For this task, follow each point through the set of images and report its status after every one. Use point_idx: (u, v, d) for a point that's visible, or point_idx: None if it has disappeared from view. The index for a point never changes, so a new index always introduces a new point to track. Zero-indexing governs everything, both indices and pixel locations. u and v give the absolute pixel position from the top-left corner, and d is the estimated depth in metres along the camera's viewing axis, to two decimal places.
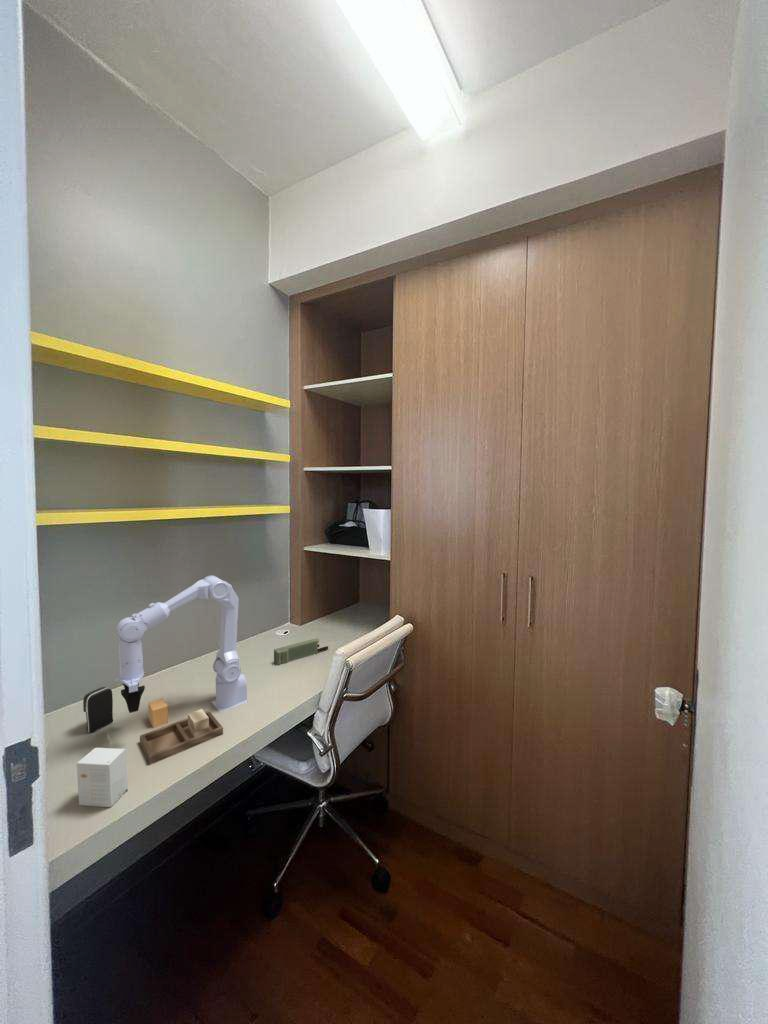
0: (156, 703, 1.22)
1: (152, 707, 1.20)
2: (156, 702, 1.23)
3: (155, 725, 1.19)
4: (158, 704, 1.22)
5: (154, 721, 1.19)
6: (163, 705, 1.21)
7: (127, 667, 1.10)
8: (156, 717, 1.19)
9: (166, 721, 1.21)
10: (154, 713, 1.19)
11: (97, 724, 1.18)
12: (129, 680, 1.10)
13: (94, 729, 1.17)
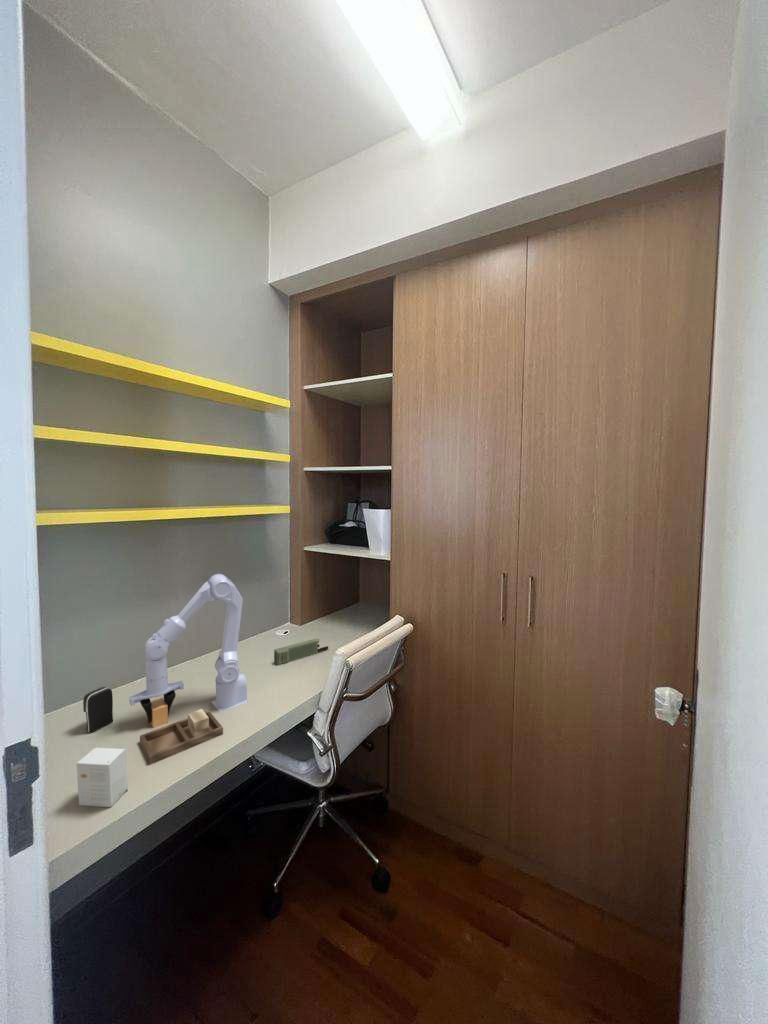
0: (156, 703, 1.22)
1: (152, 707, 1.20)
2: (156, 702, 1.23)
3: (155, 725, 1.19)
4: (158, 704, 1.22)
5: (154, 721, 1.19)
6: (163, 705, 1.21)
7: None
8: (156, 717, 1.19)
9: (166, 721, 1.21)
10: (154, 713, 1.19)
11: (97, 724, 1.18)
12: (145, 693, 1.20)
13: (94, 729, 1.17)
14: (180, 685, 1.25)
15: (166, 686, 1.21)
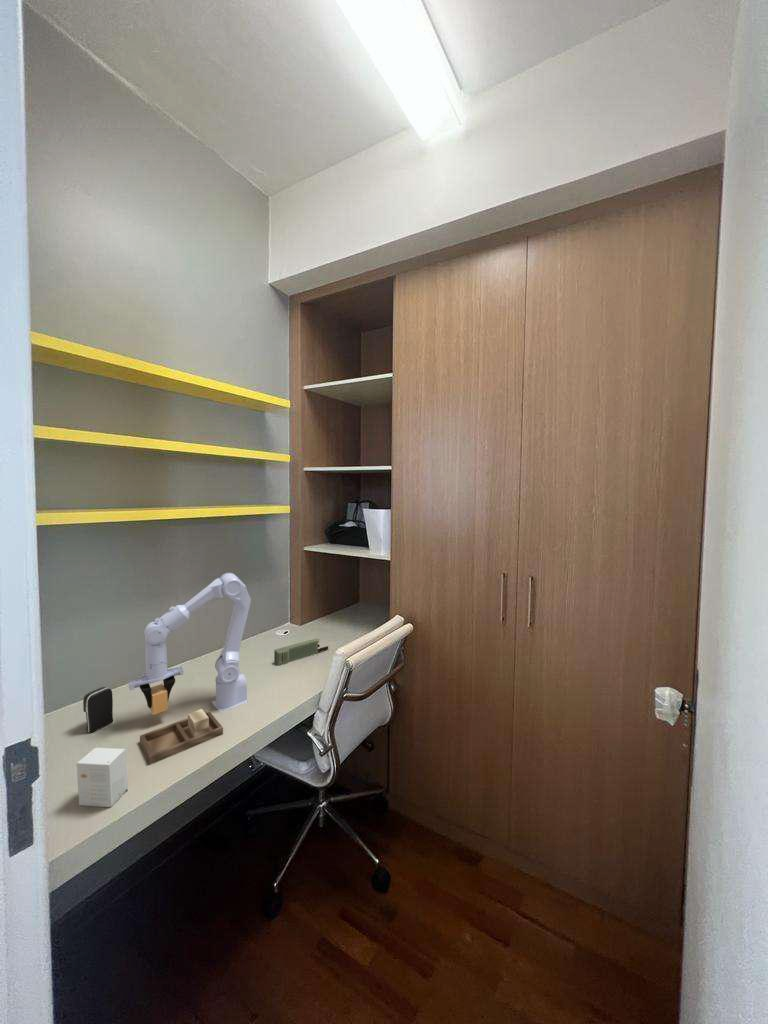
0: (156, 689, 1.22)
1: (152, 692, 1.20)
2: (156, 688, 1.22)
3: (155, 710, 1.19)
4: (158, 689, 1.21)
5: (154, 706, 1.18)
6: (163, 690, 1.21)
7: None
8: (156, 702, 1.19)
9: (166, 706, 1.21)
10: (154, 698, 1.18)
11: (97, 724, 1.18)
12: (145, 678, 1.20)
13: (94, 729, 1.17)
14: (180, 671, 1.25)
15: (166, 671, 1.21)
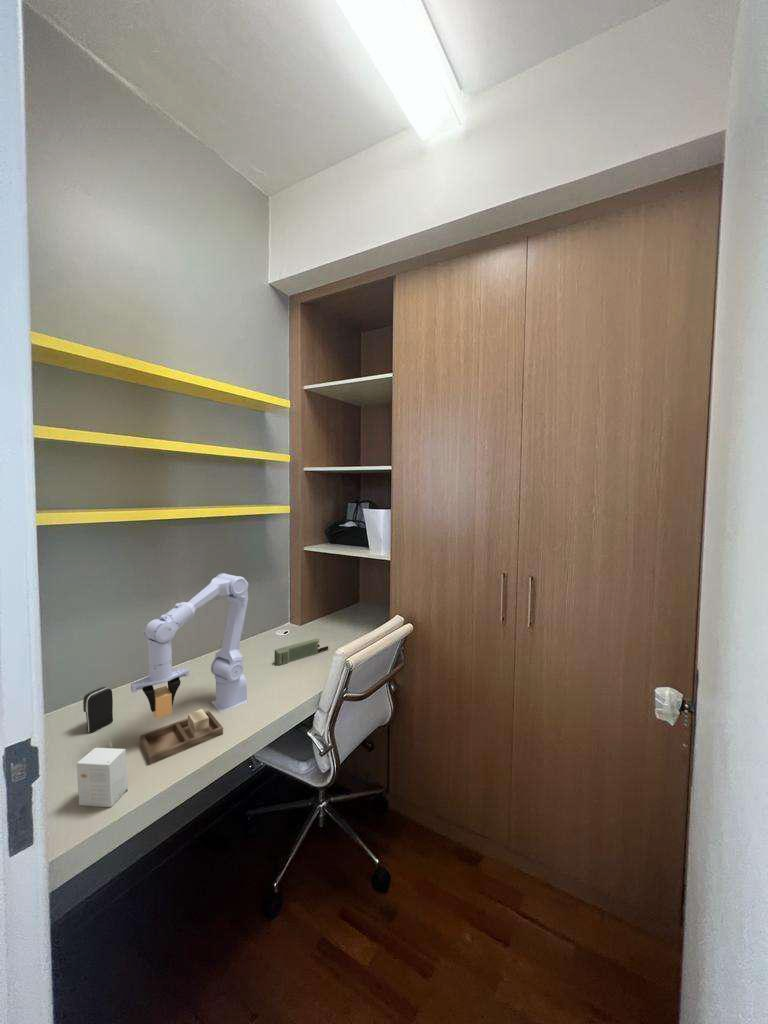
0: (159, 691, 1.14)
1: (155, 695, 1.12)
2: (159, 690, 1.14)
3: (158, 714, 1.10)
4: (161, 692, 1.13)
5: (157, 710, 1.10)
6: (166, 693, 1.13)
7: None
8: (159, 706, 1.11)
9: (170, 710, 1.13)
10: (157, 701, 1.10)
11: (97, 724, 1.18)
12: (148, 679, 1.11)
13: (94, 729, 1.17)
14: (185, 672, 1.16)
15: (170, 672, 1.13)
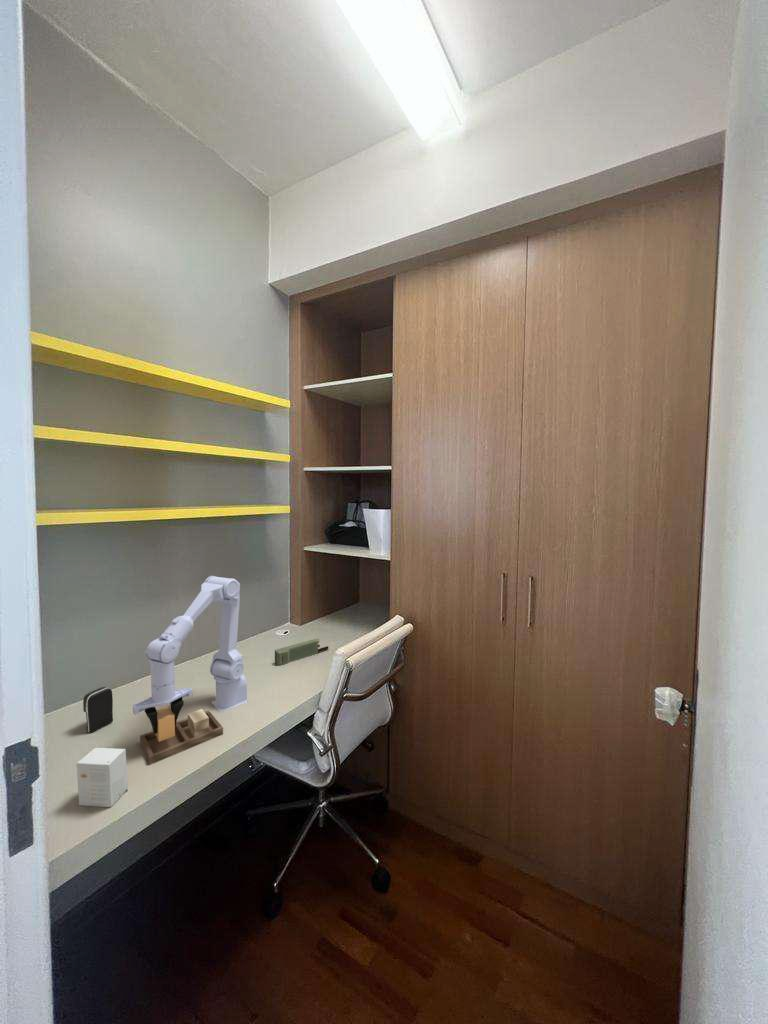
0: (162, 712, 1.11)
1: (157, 716, 1.09)
2: (162, 711, 1.11)
3: (161, 736, 1.08)
4: (164, 713, 1.10)
5: (160, 732, 1.07)
6: (169, 714, 1.10)
7: (151, 687, 1.08)
8: (162, 728, 1.08)
9: (173, 732, 1.10)
10: (160, 723, 1.07)
11: (97, 724, 1.18)
12: (150, 700, 1.08)
13: (94, 729, 1.17)
14: (188, 692, 1.13)
15: (173, 693, 1.10)
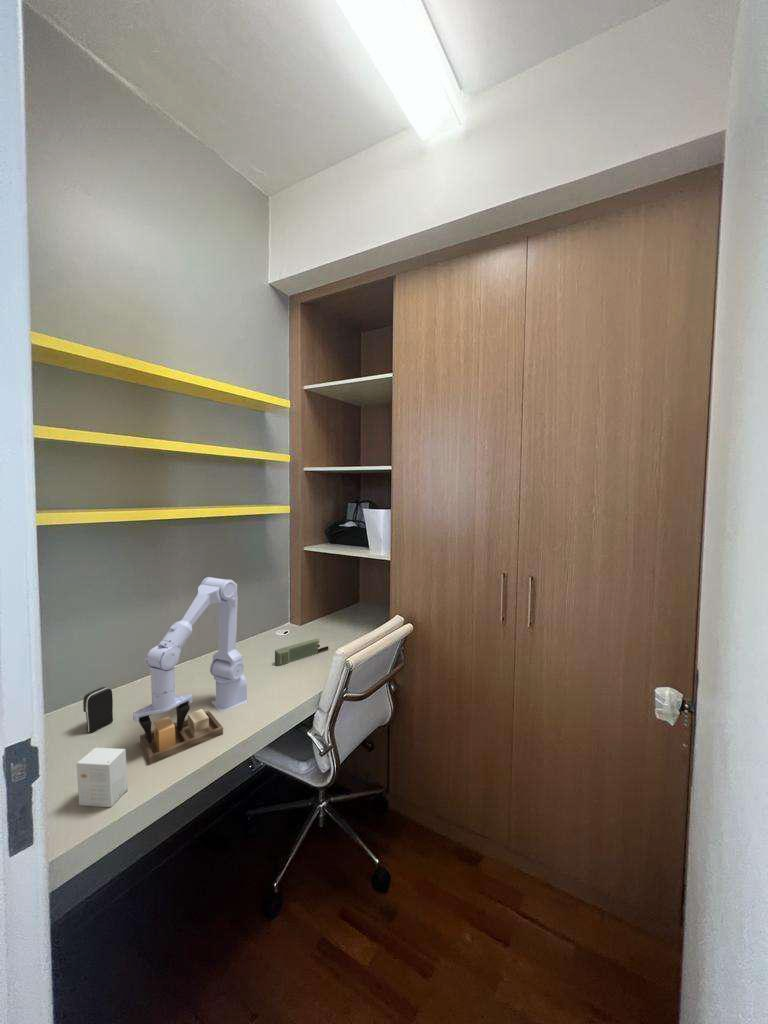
0: (163, 723, 1.11)
1: (158, 727, 1.09)
2: (162, 722, 1.12)
3: (161, 748, 1.08)
4: (164, 724, 1.11)
5: (160, 743, 1.08)
6: (170, 725, 1.10)
7: None
8: (162, 739, 1.08)
9: (173, 743, 1.10)
10: (160, 734, 1.07)
11: (97, 724, 1.18)
12: (150, 707, 1.08)
13: (94, 729, 1.17)
14: (189, 698, 1.14)
15: (173, 700, 1.10)
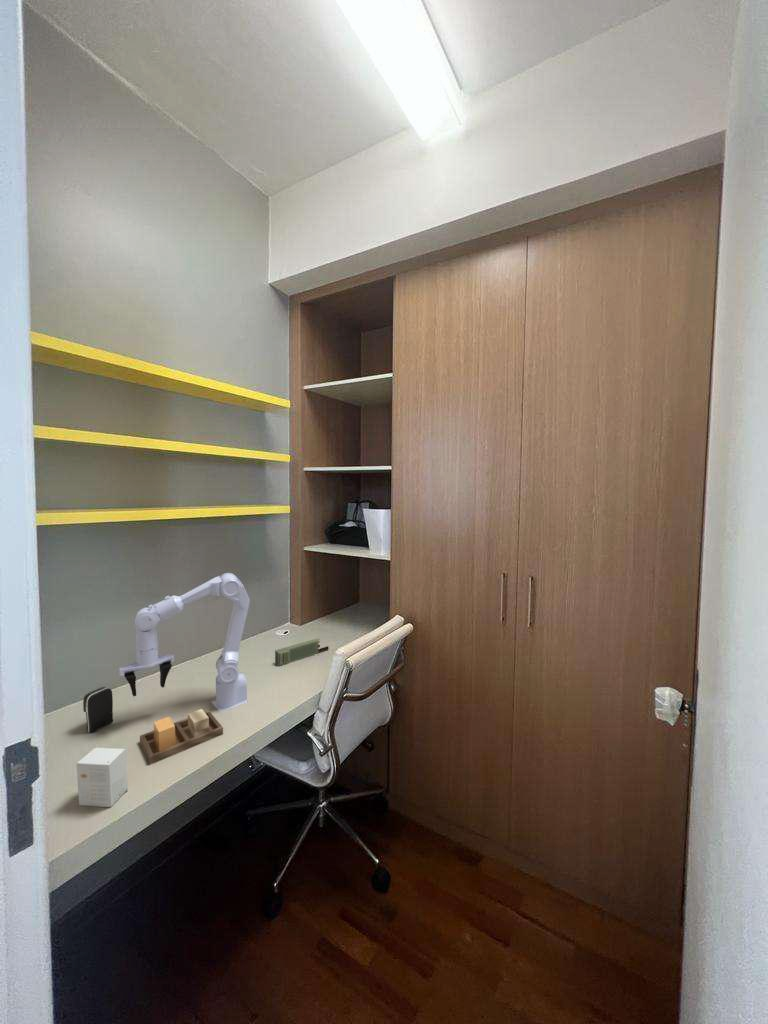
0: (163, 723, 1.11)
1: (158, 727, 1.09)
2: (162, 722, 1.12)
3: (161, 748, 1.08)
4: (164, 724, 1.11)
5: (160, 743, 1.08)
6: (170, 725, 1.10)
7: None
8: (162, 739, 1.08)
9: (173, 743, 1.10)
10: (160, 734, 1.07)
11: (97, 724, 1.18)
12: (135, 664, 1.19)
13: (94, 729, 1.17)
14: (171, 658, 1.24)
15: (156, 658, 1.21)
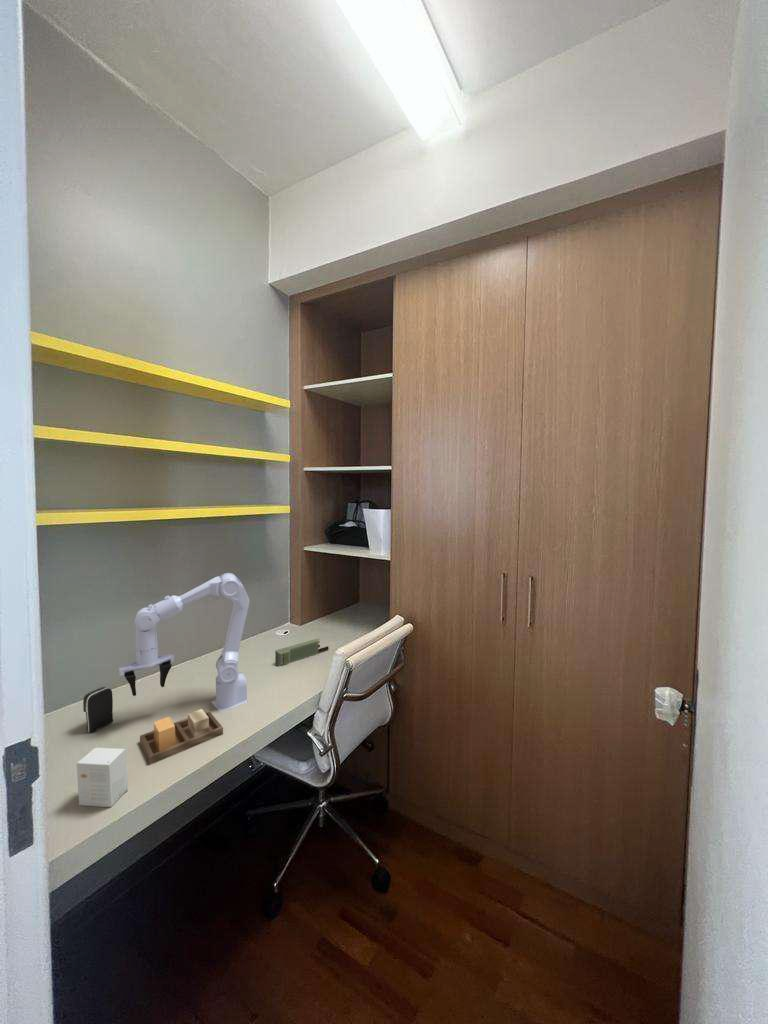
0: (163, 723, 1.11)
1: (158, 727, 1.09)
2: (162, 722, 1.12)
3: (161, 748, 1.08)
4: (164, 724, 1.11)
5: (160, 743, 1.08)
6: (170, 725, 1.10)
7: None
8: (162, 739, 1.08)
9: (173, 743, 1.10)
10: (160, 734, 1.07)
11: (97, 724, 1.18)
12: (135, 664, 1.19)
13: (94, 729, 1.17)
14: (171, 657, 1.24)
15: (156, 658, 1.21)
